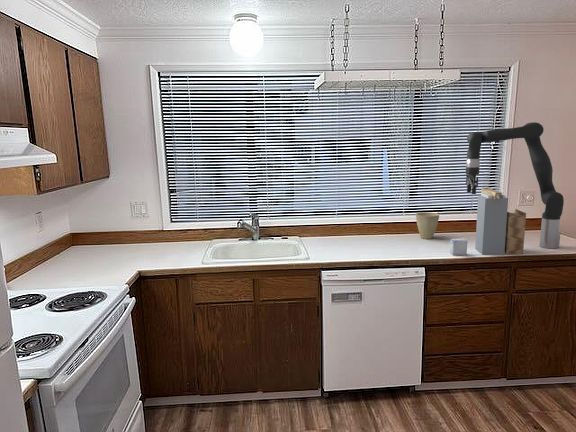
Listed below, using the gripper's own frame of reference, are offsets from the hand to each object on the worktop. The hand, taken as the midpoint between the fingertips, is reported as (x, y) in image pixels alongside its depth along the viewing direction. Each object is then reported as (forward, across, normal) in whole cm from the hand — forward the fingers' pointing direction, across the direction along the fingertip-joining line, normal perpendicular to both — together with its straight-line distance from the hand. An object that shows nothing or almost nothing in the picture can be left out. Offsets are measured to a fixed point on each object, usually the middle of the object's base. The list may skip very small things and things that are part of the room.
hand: (471, 193), depth 260 cm
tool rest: (+32, -15, -19) cm, 40 cm away
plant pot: (+32, +19, +21) cm, 43 cm away
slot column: (+32, -16, -7) cm, 36 cm away
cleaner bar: (0, -14, -7) cm, 16 cm away
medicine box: (+32, -22, +12) cm, 41 cm away
